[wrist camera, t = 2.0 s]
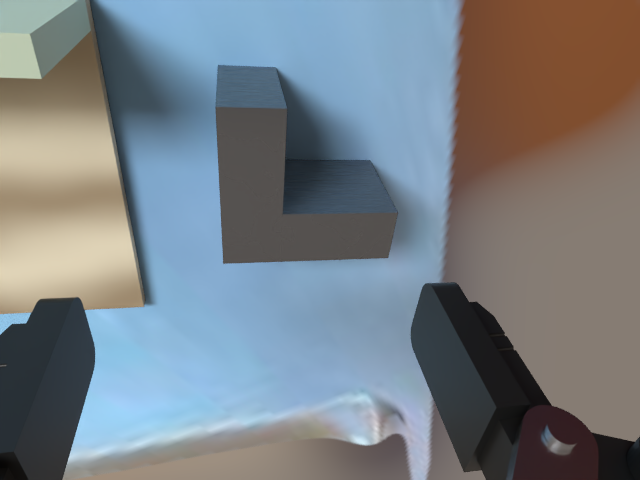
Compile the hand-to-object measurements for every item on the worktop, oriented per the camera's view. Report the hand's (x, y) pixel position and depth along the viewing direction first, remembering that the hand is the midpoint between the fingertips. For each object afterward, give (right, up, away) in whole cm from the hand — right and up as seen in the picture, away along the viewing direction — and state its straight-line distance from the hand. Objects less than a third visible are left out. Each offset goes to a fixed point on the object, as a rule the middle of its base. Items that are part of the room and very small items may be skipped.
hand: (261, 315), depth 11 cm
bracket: (0, +7, +12) cm, 13 cm away
